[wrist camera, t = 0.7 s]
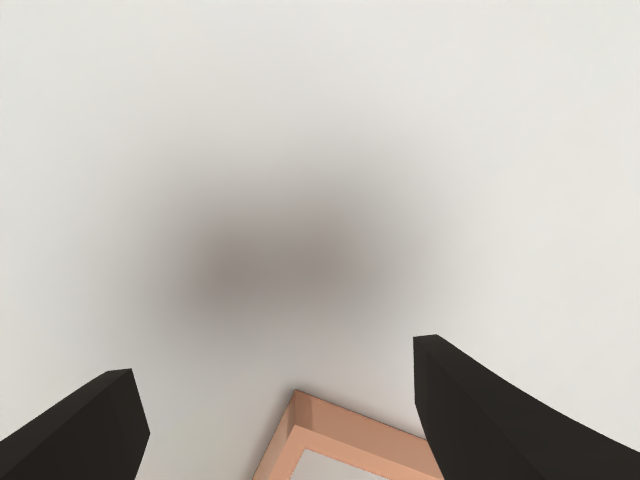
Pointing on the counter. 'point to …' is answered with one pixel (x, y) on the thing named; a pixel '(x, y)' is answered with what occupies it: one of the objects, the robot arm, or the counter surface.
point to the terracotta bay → (344, 443)
